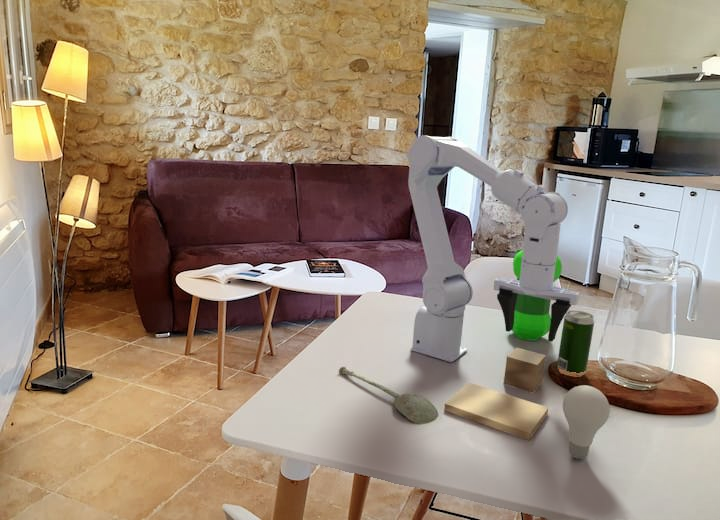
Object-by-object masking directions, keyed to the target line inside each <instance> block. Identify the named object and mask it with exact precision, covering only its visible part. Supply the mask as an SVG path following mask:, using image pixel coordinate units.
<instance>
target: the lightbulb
mask: <svg viewBox="0 0 720 520" xmlns="http://www.w3.org/2000/svg"><path fill="white" fill-rule="evenodd" d="M610 408H611V407H610V403H609V401H608V398H607V397H606V395H605V394H604V393H603V392H602V391H600V390H599V389H598V388H595V387H594V386H591V385H584V384H583V385H578V386H574V387H573V388H570V390H568V391H567V392H566V394H565V395H564V397H563V400H562V411H563V414H564V417H565V419H566V422H567V425H568V439H569V444H568V452H569V454H570V455H571V456H572V457H573V458H575V459H577V460H581V459H586V458H587V457H588V454H589V451H590V447H591V446H592V444H593V442H594V438H595V435H596V434H597V433H598V431H599V430H600V429H601V428H602V427H603V426H604V425H605V424H606V423H607V421H608V419H609V417H610V413H611V410H610Z"/></svg>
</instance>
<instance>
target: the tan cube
mask: <svg viewBox="0 0 720 520" xmlns="http://www.w3.org/2000/svg"><path fill="white" fill-rule="evenodd" d="M546 357H547V355H546V354H542V353H538V352H536V351H535V352H534V351H531V350H527V349H523V348H520V347H515V349H513V351H512V352H510V353H509V354H508V355H507V356H506V362H505V368H504V369H505V370H504V377H503V384H504V385H506V386H510V387H513V388H517V389H519V390H523V391H524V392H525V391H526V392H528V393H533V394H534V393H535V392H536V390H537V389H538V388H539V387H540V385H541V384H542V383H543V380H544V370H545V365H546Z"/></svg>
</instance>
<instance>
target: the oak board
mask: <svg viewBox="0 0 720 520" xmlns="http://www.w3.org/2000/svg"><path fill="white" fill-rule="evenodd" d="M443 411H445V412H448V413H450V414H454V415H456V416H460V417H462V418H465V419H468V420H471V421H473V422H475V423H479V424H482V425H484V426H487V427H490V428H493V429H494V430H495V429H496V430H498V431H501V432H503V433H506V434H507V433H508V434H509V435H513V436H515V437H519V438H521V439H524V440H526V441H530V440H531V438H532V437H533V436H534V434H535V433H536V431H537V430H538V428H539V427H540V426H541V424H542V423H543V421H544V420H545V419H546V417H547V415H548V413H549V407H548V406H544V405H541V404H539V403H535V402H532V401H528V400H526V399H522V398H520V397H516V396H513V395H509V394H507V393H504V392H500V391H497V390H494V389H491V388H488V387H485V386H481V385H479V384H476V383H472V382H468V383H466V385H465V386H463V387H462V388H461V389H460V390H459V391H457V393H456V394H455V395H453V396H452V397H450V399H449V400H448V401H446V402H445V403H444V410H443Z"/></svg>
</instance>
